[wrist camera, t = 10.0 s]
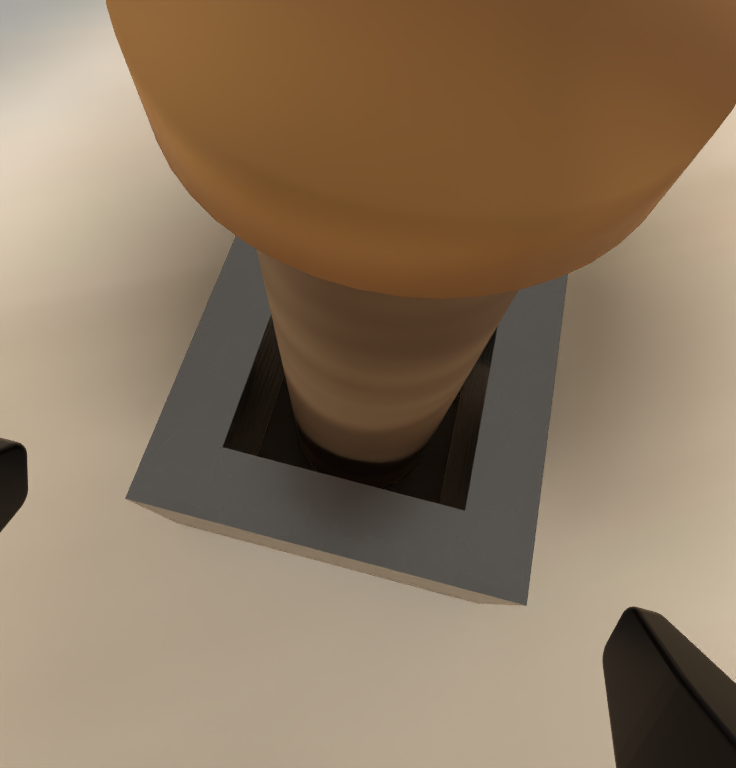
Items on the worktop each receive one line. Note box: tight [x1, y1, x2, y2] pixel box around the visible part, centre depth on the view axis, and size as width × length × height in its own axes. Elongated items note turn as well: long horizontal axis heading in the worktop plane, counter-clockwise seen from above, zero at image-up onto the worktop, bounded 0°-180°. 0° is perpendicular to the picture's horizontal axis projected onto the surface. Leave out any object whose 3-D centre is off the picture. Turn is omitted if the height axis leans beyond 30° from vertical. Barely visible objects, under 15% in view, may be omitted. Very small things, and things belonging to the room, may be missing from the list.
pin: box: [106, 0, 736, 488], centre depth 11 cm, size 5×5×13 cm
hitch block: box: [125, 236, 568, 606], centre depth 15 cm, size 9×9×4 cm
